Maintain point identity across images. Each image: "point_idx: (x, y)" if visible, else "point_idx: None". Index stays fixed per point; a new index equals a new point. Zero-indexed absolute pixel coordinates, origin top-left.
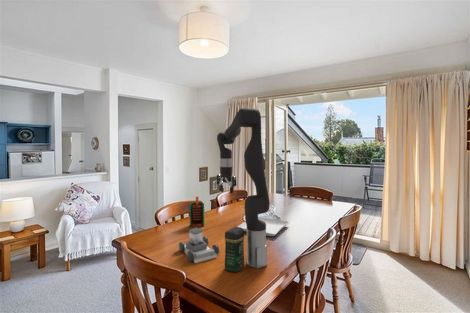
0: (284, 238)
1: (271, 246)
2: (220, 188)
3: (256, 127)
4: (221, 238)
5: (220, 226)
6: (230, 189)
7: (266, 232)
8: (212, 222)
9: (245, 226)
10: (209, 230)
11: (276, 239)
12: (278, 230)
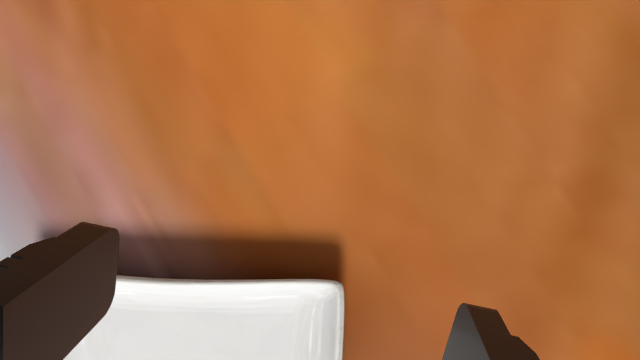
0: None
1: (2, 138)
2: (486, 353)
3: None
4: (367, 94)
5: (510, 305)
6: (22, 264)
7: None
8: (623, 355)
9: (314, 357)
10: (548, 192)
11: None
12: None
